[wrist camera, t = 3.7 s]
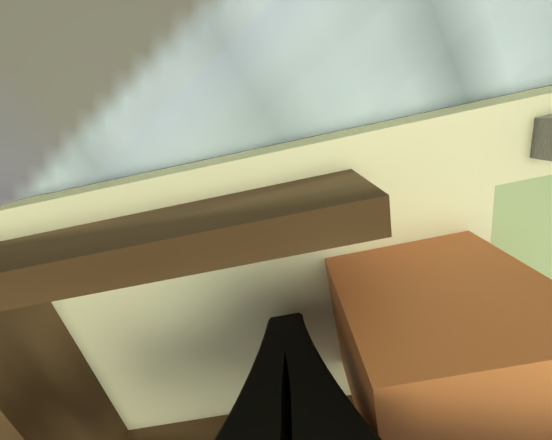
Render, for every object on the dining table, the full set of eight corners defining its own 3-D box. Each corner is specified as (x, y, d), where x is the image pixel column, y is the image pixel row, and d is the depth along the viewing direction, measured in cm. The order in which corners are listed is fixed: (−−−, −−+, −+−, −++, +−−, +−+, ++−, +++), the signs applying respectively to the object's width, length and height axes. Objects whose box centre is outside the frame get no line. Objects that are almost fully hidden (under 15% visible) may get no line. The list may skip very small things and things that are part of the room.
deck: (610, 406, 16) (656, 445, 14) (172, 471, 17) (160, 514, 15) (728, 47, 9) (841, 30, 8) (19, 199, 11) (-32, 217, 9)
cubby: (377, 406, 13) (407, 490, 10) (116, 446, 13) (75, 535, 11) (351, 168, 9) (389, 195, 6) (-15, 244, 9) (-135, 299, 7)
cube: (464, 341, 11) (599, 501, 7) (342, 361, 12) (389, 529, 7) (468, 230, 10) (658, 342, 5) (324, 258, 10) (373, 389, 5)
